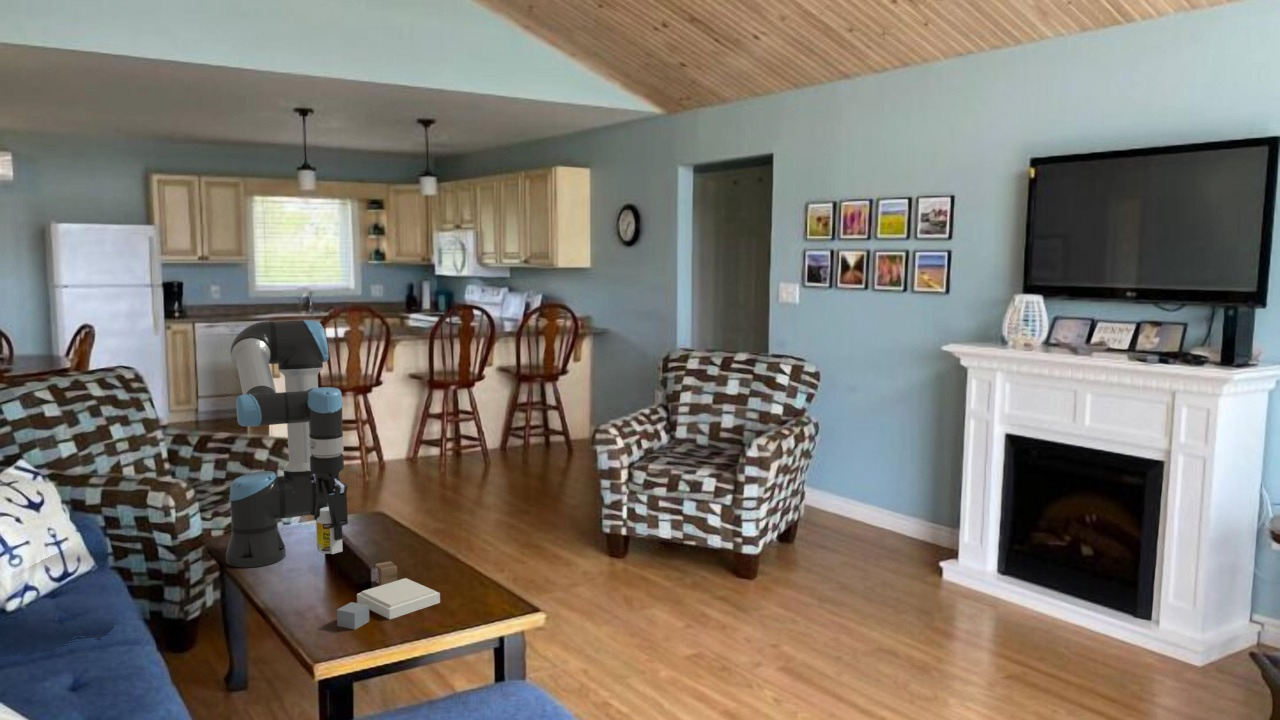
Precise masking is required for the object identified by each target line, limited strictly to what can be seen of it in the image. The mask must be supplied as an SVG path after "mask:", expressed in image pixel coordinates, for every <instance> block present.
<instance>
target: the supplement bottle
mask: <svg viewBox="0 0 1280 720" xmlns="http://www.w3.org/2000/svg"><path fill="white" fill-rule="evenodd" d="M331 525H332V523H331V517H330V512H329V507H324V508H321V509H320V516H319V517H318V518H317V534H316V548H317V551H318V552H319V553H321V554H325V555H326V554H328V555H329V554H331V553H330V528H329V526H331Z"/></svg>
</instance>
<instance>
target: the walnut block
mask: <svg viewBox="0 0 1280 720" xmlns="http://www.w3.org/2000/svg"><path fill="white" fill-rule="evenodd" d="M375 567H377V568H378V572H379V582H380V586H381V585H384V584H388V583H391V582H394V581H398V566H397V565H395V564H394V562H392V561H391V560H390V561H385V562H379V563H375Z"/></svg>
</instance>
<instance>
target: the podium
mask: <svg viewBox="0 0 1280 720" xmlns="http://www.w3.org/2000/svg"><path fill="white" fill-rule="evenodd" d="M356 603H359V604H364V605H369V611H372V612H374V613H375V614H378V615H380V616H382V617H384V618H386V619H387V620H393V619H396V618H399V617H402V616H404V615H405V616H406V615H407V614H410V613H413V612H416V611H419V610H422V609H425V608H428V607H432V606H433V605H434V606H435V605H438V604H440V603H441V592H438V591H436V590H434V589H432V588H429V587H428V586H425V585H422V584H421V583H418V582H416V581H415V580H414V581H413V580H411V579H408V578H407V577H405V578H401V579H397V581H394V582H391V583H388V584H384V585H381V586H379V585H378V586H373V587H372V588H368V589H365V590H361V592H359V593H357V594H356Z"/></svg>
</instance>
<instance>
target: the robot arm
mask: <svg viewBox="0 0 1280 720" xmlns="http://www.w3.org/2000/svg"><path fill="white" fill-rule="evenodd" d="M231 343H232V344H231V346H230V357H231V361H232V364H233V365H234V366H235V367H236V368H237V372H238V377H239V381H240V387H241V392H242V394H240V395H238V396H237V397H236V401H235V405H236V406H235V407H236V417H237V419H236V421H237V424H238V426H239V425H240V426H241V427H255V428H256V427H260V426H271V425H287V428H286V429H287V444H288V446H287V447H288V449H287V450H288V463H287V464H286V466H284V467H283V475H279V476H277V474H276V473H275V471H272V470H266V471H265V470H261V471H255V472H250V473H246V474H243V475H241V476H239V477H236V478H235V479H233V481H232V482H231V483H230V486H229V487H230V488H229V497H228V498H229V501H230V520H231V523H230V524H231V525H230V526H231V535H230V538H229V541H228V545H227V549H226V552H225V563H226V564H227V565H229V566H231V567H235V568H257V567H264V566H269V565H272V564H276V563H278V562H280V561H281V560H283V559H284V558H286V556H287V555H286V546H285V543H284V540H283V539H282V538H283V537H282V536H281V534H280V531H279V527H278V526H279V525H278V523H279V522H278V520H281V519H290V518H296V517H307V516H312V517H313V518H314V520H315V527H316V528H315V529H316V535H317V518H318V517H319V516H320V509H321V508H324V507H329V512H330V517H331V523H332V525H331V526H329V528H330V554H331V555H334V554H337V553H343V550H344V549H343V526H346V525H348V523H349V521H348V520H349V517H348V500H347V498H348V497H347V493H348V492H347V491H348V484H347V483H342V482H341V477H340V472H341V471H343V470H344V467H345V461H344V460H345V459H344V458H345V457H344V454H343V452H344V433H343V432H344V431H343V405H344V401H343V395H342V391H341V389H339V388H337V387H329V386H327V387H319V377H318V375H319V373H320V372H321V371H322V370H323V369H324V363H326V362H328V361H329V347H328V346H329V345H328V341H327V337H326V332H325V329H324V327H323V325H322V323H321V322H319V320H318V321H317V320H310V319H309V320H308V319H307V320H305V319H302V320H300V319H299V320H279V321H278V320H277V321H275V320H274V321H269V320H268V321H267V320H266V321H259V322H256V323H254V324H251V325H249V326H247V327H245V328H244V329H243V330H242V331H240V332H239V333H238V334H237V335H236V337H235V338H234V340H233V342H231ZM270 365H277V366H278V368H277V369H278V372H280V373H281V374H282V376H283V377H284V385H285V386H284V387H285V389H284V390H285V391H284V392H277V390H276V385H275V382H274V378H273V374H272V371H271V366H270Z"/></svg>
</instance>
